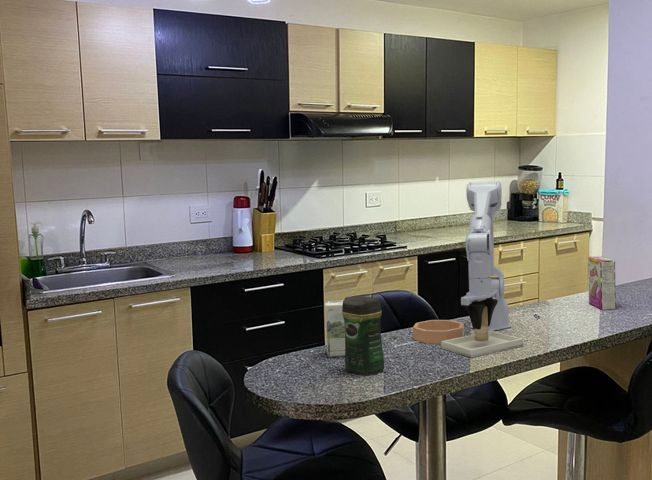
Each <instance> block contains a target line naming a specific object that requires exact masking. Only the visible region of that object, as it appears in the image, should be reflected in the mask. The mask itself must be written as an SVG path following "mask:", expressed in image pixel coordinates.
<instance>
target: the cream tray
mask: <svg viewBox="0 0 652 480" xmlns="http://www.w3.org/2000/svg"><path fill="white" fill-rule="evenodd" d="M520 347H524V338H521V337H517V336H513V335H510V334H507V333H501V332H498V331H496V330H495V331H488V341H475V333H474V334H470V335H469V334H468V335H464V337H459V338H454V339H450V340H445V341H441V349H442V350H445V351H449V352H451V353H454V354H458V355H461V356H464V357H467V358H470V359H473V358H477V357H478V358H479V357H482V356H486V355H491V354H495V353H499V352H502V351H503V352H504V351H508V350H512V349H515V348H520Z"/></svg>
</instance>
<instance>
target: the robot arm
mask: <svg viewBox="0 0 652 480" xmlns="http://www.w3.org/2000/svg"><path fill="white" fill-rule="evenodd" d="M465 191H466V193H465V194H466V202H467V205H468V208H469V210H470V211H472V212H474V214H473V215H471V216H470V219H469V227H468V234H466V236H465V251H466V259H467V261H468V289H469V291H468V292H466V295H464V296H461V298H460V304H461V305H460V306H463V307H464V309H465V310H466V312H467V314H468V316H469V319H470V322H471V325H470V326H469V328H471V329H473V330H474V329H481V325H482V313H483V309H484V307H485V306H487V314H488V331H495V332H496V331H498V330H504V329H508V328H511V327H512V325H510V316H509V315H510V314H509V311H510V310H509V304H508V301H507V300H506V299H505V298H504V297H505V277H504V276H505V275H504V273H503V271H502V270H500V269H499V268H497V266H495V259H494V258H495V249H494V248H495V246H494V245H495V244H494V242H495V241H494V239H495V238H494V217H495V213H496V212H497V211H500V210H501V207H502V199H503V198H502V182H500V180H497V181H483V182H480V181H479V182H468V183H467V184H466V190H465Z"/></svg>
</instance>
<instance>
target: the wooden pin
mask: <svg viewBox="0 0 652 480" xmlns="http://www.w3.org/2000/svg"><path fill="white" fill-rule="evenodd" d="M473 330H474V334H475V341H488V314H487V306H485V307H484V309H483V313H482V325H481V329H473Z"/></svg>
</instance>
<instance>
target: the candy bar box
mask: <svg viewBox="0 0 652 480" xmlns="http://www.w3.org/2000/svg"><path fill="white" fill-rule="evenodd" d="M587 274H588V275H587V276H588V279H587V280H588V303H589V305H591V306H593V307H595V308H597V309H599V310H601V311H615V310H616V309H617V306H616V305H617V303H616V302H617V301H616V300H617V296H616V260H614V259H611V258H608V257H605V256H602V255H597V256H596V255H595V256H587Z"/></svg>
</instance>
